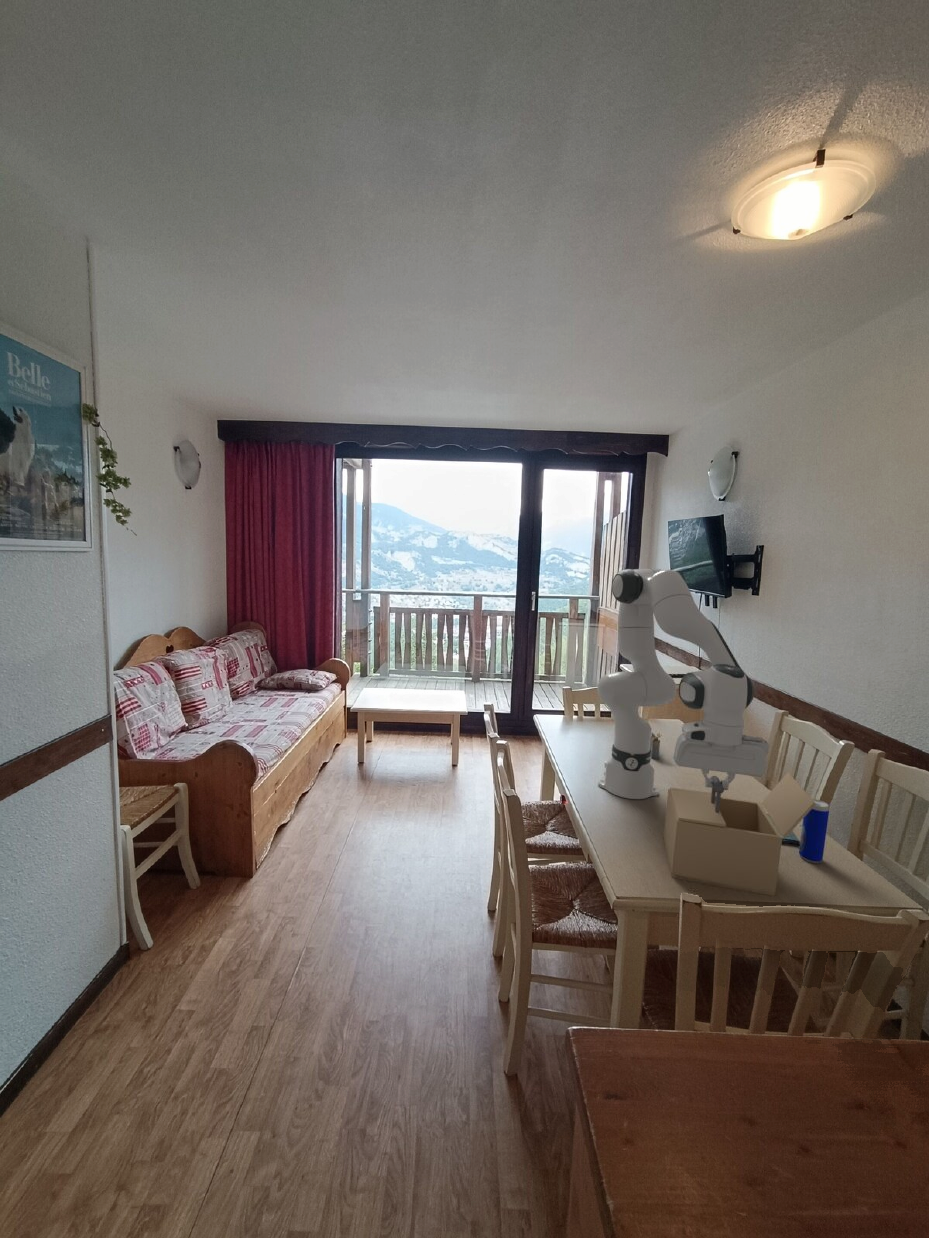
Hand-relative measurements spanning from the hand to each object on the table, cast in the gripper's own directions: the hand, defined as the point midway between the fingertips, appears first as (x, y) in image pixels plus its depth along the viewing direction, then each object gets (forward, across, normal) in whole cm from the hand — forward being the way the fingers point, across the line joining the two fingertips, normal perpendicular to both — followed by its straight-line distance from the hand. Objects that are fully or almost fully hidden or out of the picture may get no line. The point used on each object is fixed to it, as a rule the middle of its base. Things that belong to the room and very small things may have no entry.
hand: (716, 787), depth 130 cm
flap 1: (+6, +4, 0) cm, 7 cm away
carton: (+20, -2, 0) cm, 20 cm away
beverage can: (+20, -26, -12) cm, 35 cm away
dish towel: (+21, -14, -26) cm, 36 cm away
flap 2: (+1, -15, 0) cm, 15 cm away
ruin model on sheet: (+20, +7, -77) cm, 80 cm away
